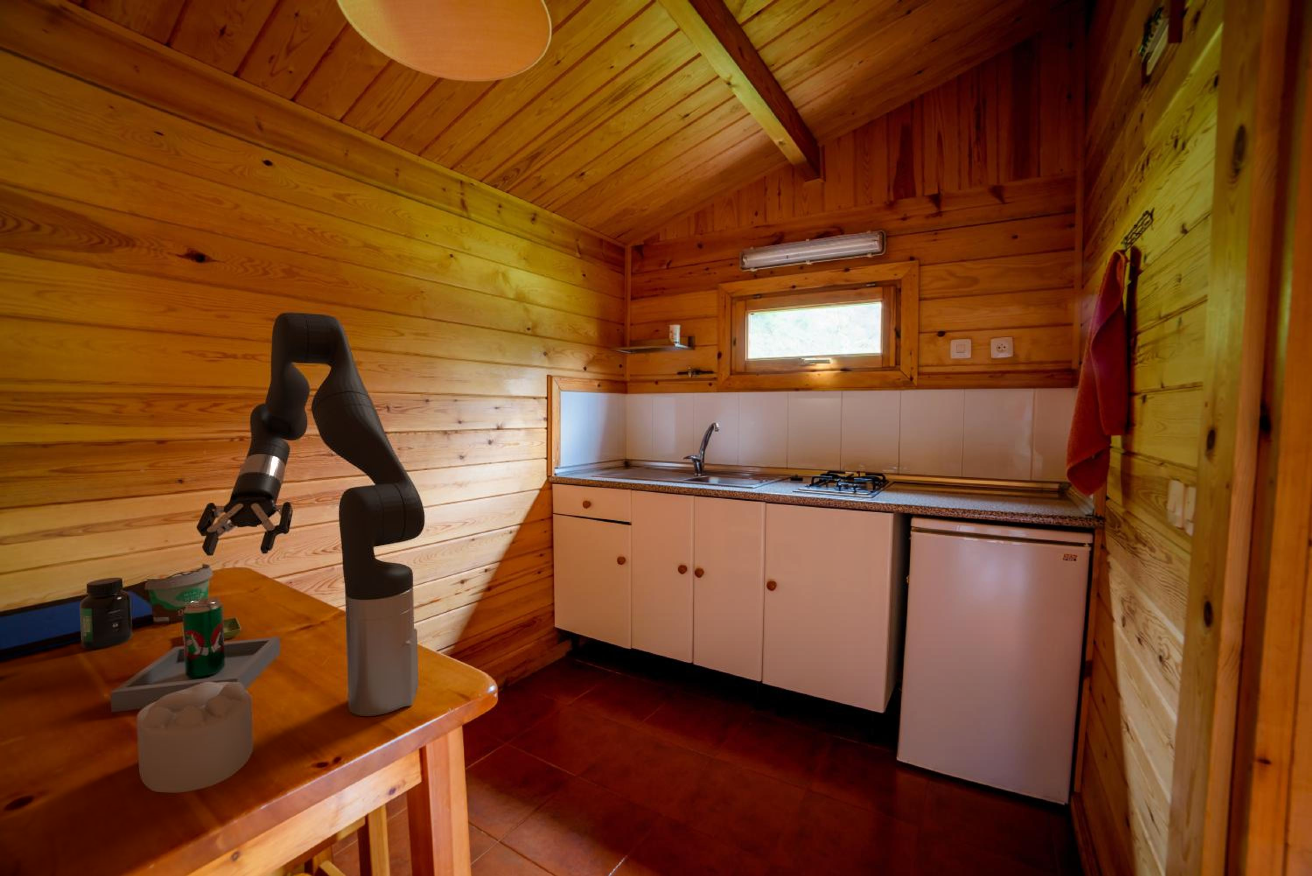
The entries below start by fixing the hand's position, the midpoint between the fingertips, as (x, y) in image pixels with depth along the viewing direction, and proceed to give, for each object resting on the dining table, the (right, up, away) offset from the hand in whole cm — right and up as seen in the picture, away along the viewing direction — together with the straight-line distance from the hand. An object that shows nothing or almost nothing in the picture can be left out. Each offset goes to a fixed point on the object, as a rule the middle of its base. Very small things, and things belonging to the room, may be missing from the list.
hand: (236, 552), depth 100 cm
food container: (-23, -18, +17) cm, 34 cm away
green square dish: (-10, -19, +7) cm, 22 cm away
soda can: (+3, -18, -10) cm, 21 cm away
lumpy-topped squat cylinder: (+20, -20, -31) cm, 42 cm away
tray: (+3, -19, -10) cm, 22 cm away
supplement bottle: (-28, -18, +4) cm, 34 cm away
